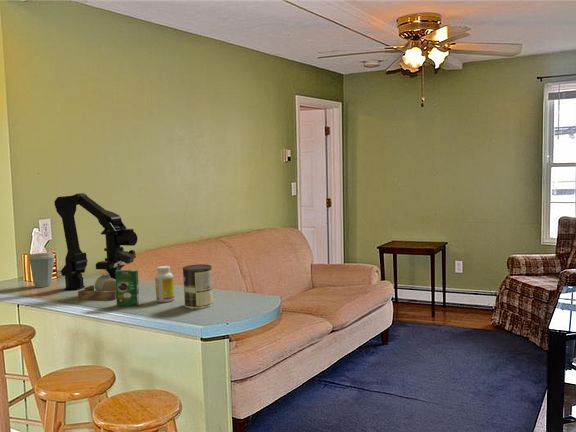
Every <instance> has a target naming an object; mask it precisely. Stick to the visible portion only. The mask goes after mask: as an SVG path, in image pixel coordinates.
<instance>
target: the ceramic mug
mask: <svg viewBox="0 0 576 432" xmlns="http://www.w3.org/2000/svg"><path fill="white" fill-rule="evenodd" d="M94 290H95V291H114V290H116V280H115V279H113V278H111V277H110V275H105V274H103V275H100V276H99V277H98V278H96V280H95V283H94Z"/></svg>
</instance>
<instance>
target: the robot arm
mask: <svg viewBox="0 0 576 432" xmlns="http://www.w3.org/2000/svg"><path fill="white" fill-rule="evenodd" d="M77 206H80V207H82V208H83V209H84V210H85V211H86V212H87V213H89V214H91V215H92V216H93V217H94V218H96V219H97V220H98V224H100V225H101V227H102V228H103V230H102V231H101V232H100V235H105V248H104V249H103V251H104V252H106V257H105V258H104V260H100V261H97V262H96V264H95V270H106V272H107V273H108V276H109V277H111V278H113V279H115V280H116V277H115V271H116V270H123V268H124V267H125V266H126V264H127V265H129V264H132V263H134V260H135V259H136V258H137V256H136V251H135V250H134V249H130V250H129V251H126V250H125V249H124V247H123V246H126V247H127V246H129V247H132V246H133V247H134V246H136V245H137V242H138V235H137V233H136V232H135V230H134V228H127V226H126V225H125V223H124V221H123V220H122V217H121V216H120V215H119V214H117V213H116V212H113V211H110V210H107V209H105V208H104V207H103V206H101V205H99V204H98V203H97V202H96V201H94V199H92V198H91V197H89V196H88V194H86V193H83V192H82V193H75V194H72V195H65V196H57V197H56V199H55V200H54V207H55V210H56V213H57V214H58V215H59V217H60V218H61V222H62V226H63V232H64V237H65V238H64V239H65V243H66V248H67V253H66V255H65V258H64V260H65V261H64V262H65V265H64V266H63V267H62V269H61V270H60V273H61V276H62V277H63V276H64V282H65V287H63V290H65V291H66V290H67V291H68V290H69V291H77V290H78V291H79V290H81V289H83V288H86V285H84V277H83V274H84V273H85V272H86V267H87V266H88V262H89V261H88V258H87V252H85V251H84V252H83V251H82V250H81V247H80V243H79V242H80V241H79V237H78V231H77V226H76V225H77V224H76V221H75V219H76V218H75V214H76V212H77ZM123 263H124V264H123Z"/></svg>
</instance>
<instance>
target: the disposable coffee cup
mask: <svg viewBox="0 0 576 432" xmlns="http://www.w3.org/2000/svg"><path fill="white" fill-rule="evenodd" d="M55 257H56V256H55V254H54V252H37V253H30V254H29V256H28V260H29V265H30V269H31V275H32V279H33V285H34V287H35V288H47V286H48V287H50V286H51V284H52V281H53V280H52V279H53V272H54V270H53V269H54V264H55V263H54V262H55Z"/></svg>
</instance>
